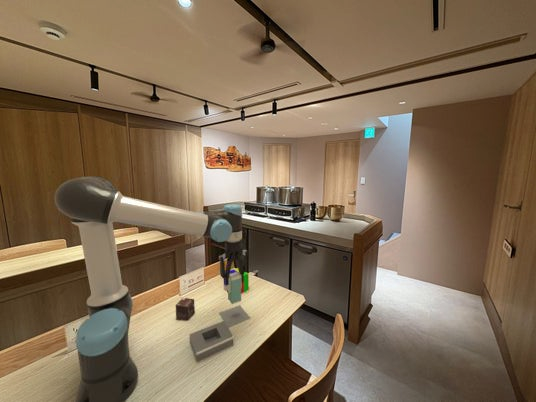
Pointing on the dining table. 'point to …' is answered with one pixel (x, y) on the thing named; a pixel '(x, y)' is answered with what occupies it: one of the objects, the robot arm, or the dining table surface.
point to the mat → (234, 316)
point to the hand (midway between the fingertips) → (234, 288)
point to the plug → (235, 288)
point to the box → (185, 309)
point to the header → (210, 340)
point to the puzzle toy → (244, 282)
